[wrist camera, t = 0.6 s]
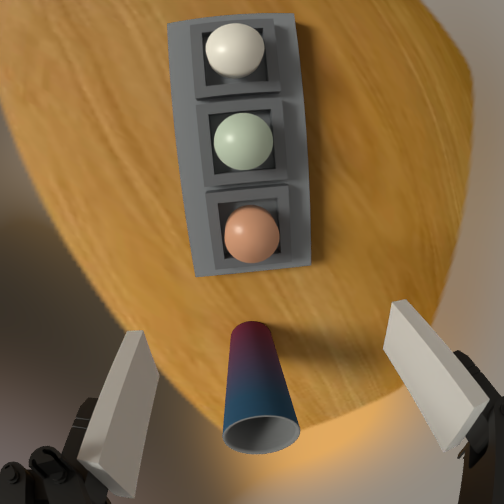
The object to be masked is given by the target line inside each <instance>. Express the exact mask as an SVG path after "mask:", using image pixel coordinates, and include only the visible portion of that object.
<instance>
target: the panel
mask: <svg viewBox="0 0 504 504" xmlns="http://www.w3.org/2000/svg"><path fill="white" fill-rule="evenodd" d="M232 23H239V24H245V25H248V26H250V27H252V28H253V29H255V30H256V31H257V32H258V33H259V34H260V35H261V37H262V39H263V42H264V54H263V57H262V59H261V62H260V64H259V66H258V67H257V69H256V70H255V71H254V72H253V73H251V74H250V75H248V76H245V77H242V78H237V79H232V78H226V77H223V76H221V75H219V74H217V73H216V72H215V71H214V70H213V69H212V67H211V66H210V64H209V61H208V57H207V54H206V43H207V40H208V38H209V36H210V35H211V34H212V33H213V32H214V31H215V30H216V29H218V28H219V27H221V26H223V25H227V24H232ZM167 30H168V51H169V68H170V82H171V95H172V106H173V117H174V127H175V137H176V146H177V155H178V163H179V171H180V179H181V187H182V194H183V201H184V208H185V215H186V222H187V228H188V235H189V241H190V247H191V253H192V259H193V265H194V270H195V276H196V277H203V276H213V275H223V274H233V273H243V272H253V271H263V270H272V269H281V268H290V267H299V266H308V265H311V224H310V192H309V170H308V152H307V136H306V122H305V109H304V98H303V87H302V77H301V67H300V58H299V49H298V41H297V33H296V26H295V18H294V14H293V13H258V14H238V15H225V16H215V17H206V18H198V19H191V20H185V21H179V22H173V23H168V24H167ZM238 113H249V114H253V115H256V116H258V117H260V118H261V119H262V120H264V121H265V122H266V124H267V125H268V126H269V128H270V130H271V132H272V136H273V147H272V151H271V153H270V155H269V157H268V158H267V159H266V160H265V161H264V162H263V163H262V164H261V165H259V166H258V167H256V168H253V169H249V170H237V169H234V168H231V167H229V166H227V165H226V164H224V163H223V162H222V161H221V160H220V158H219V157H218V155H217V153H216V151H215V147H214V136H215V133H216V130H217V128H218V126H219V125H220V124H221V123H222V122H223V121H224V120H225V119H226V118H228V117H229V116H232V115H234V114H238ZM245 205H257V206H260V207H262V208H264V209H266V210H267V211H268V212H269V213H270V214H271V215H272V217H273V219H274V221H275V223H276V225H277V227H278V230H279V243H278V246H277V248H276V250H275V252H274V253H273V254H272V255H271V256H270V257H269V258H267V259H266V260H264V261H261V262H258V263H245V262H242V261H239V260H237V259H236V258H234V257H233V256H232V255H231V254H230V252H229V251H228V249H227V247H226V244H225V226H226V222H227V219H228V217H229V216H230V214H231V213H232V212H233V211H235V210H236V209H237V208H239V207H241V206H245Z"/></svg>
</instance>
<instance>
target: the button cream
mask: <svg viewBox="0 0 504 504" xmlns="http://www.w3.org/2000/svg"><path fill="white" fill-rule="evenodd" d="M206 54H207V57H208V61H209V64H210V66H211V67H212V69H213V70H214V71H215V72H216V73H217V74H219V75H221V76H223V77H226V78H232V79H237V78H242V77H245V76H248V75H250V74H251V73H253V72H254V71H255V70H256V69H257V67H258V66H259V64H260V62H261V59H262V57H263V54H264V42H263V39H262V37H261V35H260V34H259V33H258V32H257V31H256V30H255V29H253V28H252V27H250V26H248V25H245V24H239V23H232V24H227V25H223V26H221V27H219V28H218V29H216V30H215V31H214V32H213V33H212V34H211V35H210V36H209V38H208V40H207V43H206Z"/></svg>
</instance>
